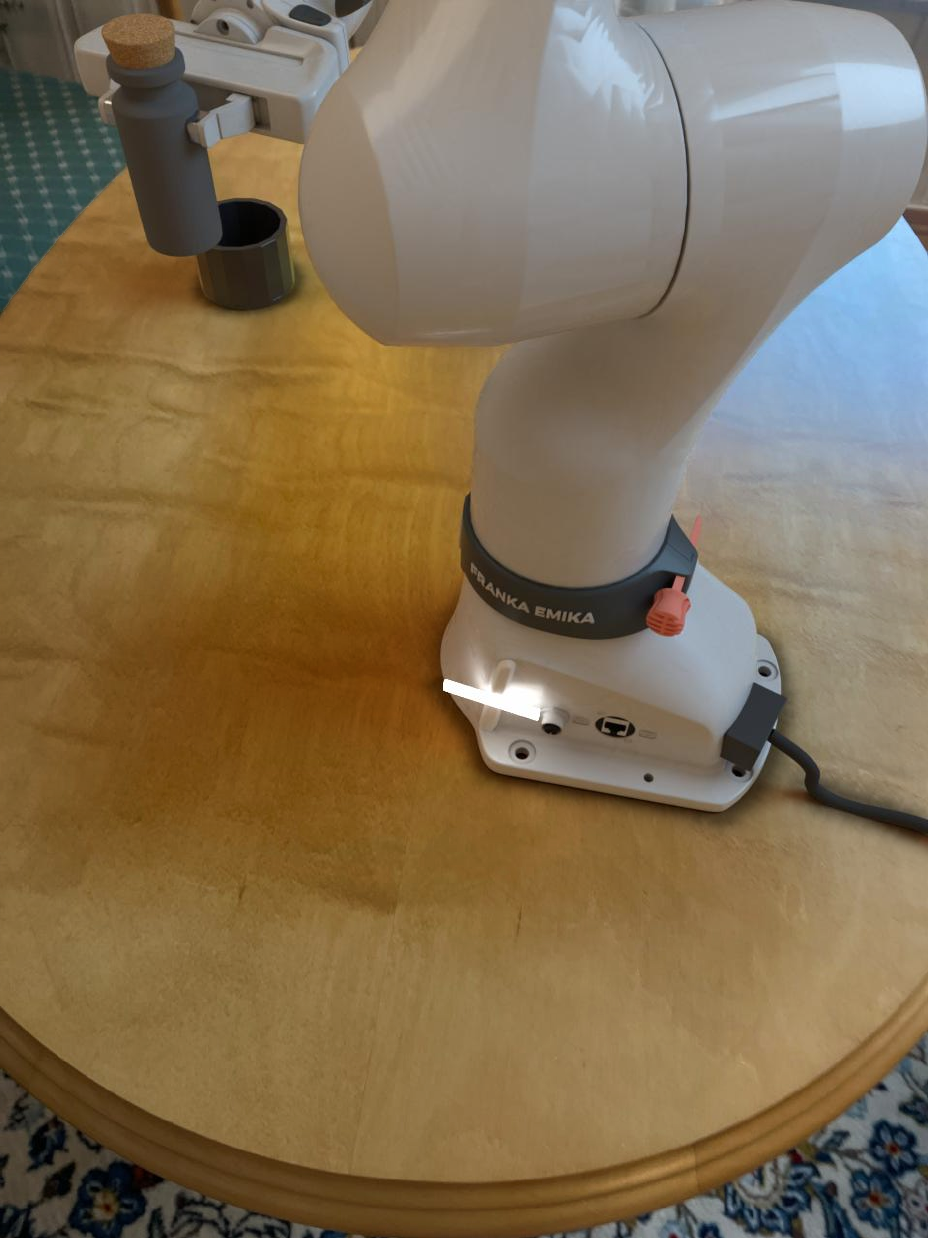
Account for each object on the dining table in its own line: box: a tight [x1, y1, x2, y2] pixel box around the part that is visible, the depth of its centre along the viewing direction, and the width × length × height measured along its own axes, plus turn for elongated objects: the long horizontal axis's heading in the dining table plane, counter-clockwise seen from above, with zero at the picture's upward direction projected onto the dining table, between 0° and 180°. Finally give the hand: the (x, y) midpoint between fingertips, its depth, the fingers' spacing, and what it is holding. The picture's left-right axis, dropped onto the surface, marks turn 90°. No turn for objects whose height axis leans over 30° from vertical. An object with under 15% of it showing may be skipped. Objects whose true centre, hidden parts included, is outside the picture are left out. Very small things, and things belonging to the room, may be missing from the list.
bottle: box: [101, 12, 222, 258], centre depth 70 cm, size 6×6×15 cm
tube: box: [193, 197, 296, 311], centre depth 89 cm, size 9×9×6 cm
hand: (152, 125), depth 68 cm, fingers closed on bottle, 6 cm apart
